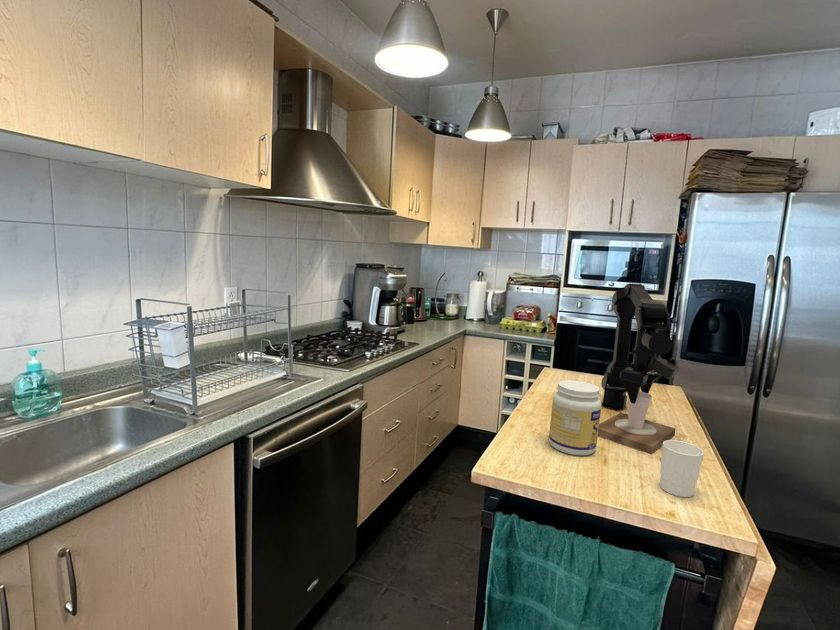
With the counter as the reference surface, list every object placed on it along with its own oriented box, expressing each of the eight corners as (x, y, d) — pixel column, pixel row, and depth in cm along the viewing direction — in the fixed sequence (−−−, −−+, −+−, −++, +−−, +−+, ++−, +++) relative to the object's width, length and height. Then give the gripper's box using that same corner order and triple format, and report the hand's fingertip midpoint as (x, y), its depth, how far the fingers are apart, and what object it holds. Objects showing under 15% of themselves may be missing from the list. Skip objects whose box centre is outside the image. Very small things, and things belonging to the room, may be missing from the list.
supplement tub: (596, 461, 113) (604, 396, 110) (546, 450, 117) (552, 388, 115) (595, 442, 124) (603, 383, 122) (549, 433, 128) (556, 376, 126)
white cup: (692, 485, 104) (698, 444, 102) (700, 502, 96) (708, 458, 95) (654, 477, 106) (660, 437, 105) (659, 494, 99) (666, 451, 97)
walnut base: (592, 434, 130) (593, 425, 130) (619, 418, 144) (620, 410, 144) (651, 454, 119) (653, 444, 119) (674, 435, 133) (675, 426, 133)
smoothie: (619, 421, 134) (625, 376, 132) (639, 422, 135) (645, 376, 132) (630, 430, 128) (637, 382, 125) (652, 430, 128) (659, 383, 126)
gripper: (666, 357, 116) (658, 415, 118) (687, 349, 129) (679, 401, 131) (622, 348, 123) (615, 403, 126) (646, 341, 136) (639, 391, 139)
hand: (638, 400), depth 130 cm, fingers open, 9 cm apart
